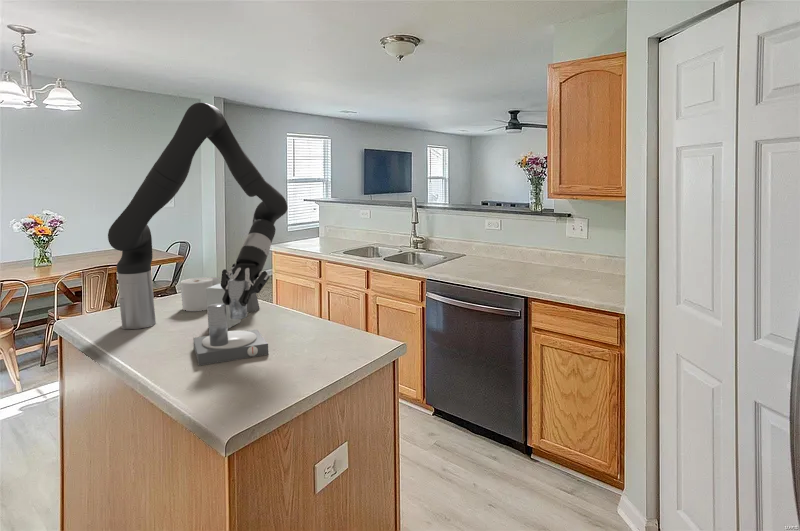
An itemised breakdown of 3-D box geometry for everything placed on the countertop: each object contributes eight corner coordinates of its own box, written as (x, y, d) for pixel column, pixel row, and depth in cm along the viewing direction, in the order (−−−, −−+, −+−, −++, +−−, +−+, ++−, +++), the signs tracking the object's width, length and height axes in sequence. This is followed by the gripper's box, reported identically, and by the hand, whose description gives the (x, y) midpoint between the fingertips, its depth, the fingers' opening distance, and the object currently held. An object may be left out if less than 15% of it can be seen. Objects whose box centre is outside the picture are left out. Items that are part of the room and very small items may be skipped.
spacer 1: (211, 347, 123) (208, 308, 121) (209, 342, 127) (206, 304, 125) (229, 344, 125) (226, 306, 123) (227, 339, 129) (224, 302, 127)
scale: (198, 366, 120) (197, 352, 120) (194, 348, 133) (193, 335, 132) (268, 354, 128) (268, 341, 127) (257, 339, 141) (257, 327, 140)
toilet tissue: (175, 310, 172) (173, 282, 170) (198, 302, 183) (196, 276, 181) (201, 312, 169) (199, 284, 167) (223, 304, 180) (221, 277, 178)
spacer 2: (231, 319, 130) (228, 283, 129) (229, 315, 134) (226, 280, 132) (248, 317, 132) (246, 281, 131) (245, 313, 136) (243, 278, 134)
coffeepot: (268, 310, 171) (265, 259, 168) (242, 315, 165) (239, 263, 162) (247, 302, 182) (244, 254, 179) (222, 307, 176) (219, 257, 172)
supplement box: (229, 329, 150) (226, 288, 148) (207, 327, 152) (204, 287, 149) (241, 322, 157) (239, 283, 155) (220, 321, 159) (218, 282, 156)
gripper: (226, 244, 139) (203, 295, 129) (272, 245, 135) (252, 298, 126) (237, 259, 145) (216, 309, 135) (282, 260, 141) (263, 312, 132)
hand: (234, 303), depth 131 cm, fingers closed on spacer 2, 4 cm apart
